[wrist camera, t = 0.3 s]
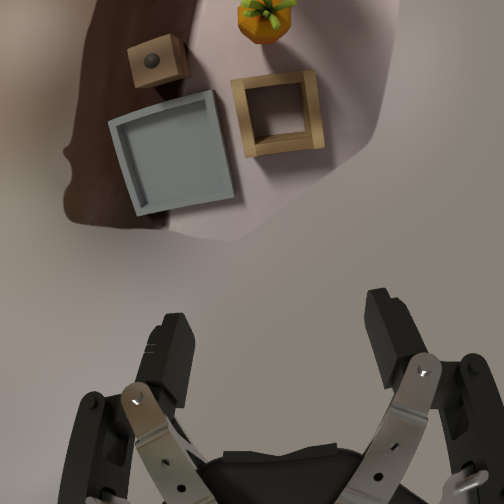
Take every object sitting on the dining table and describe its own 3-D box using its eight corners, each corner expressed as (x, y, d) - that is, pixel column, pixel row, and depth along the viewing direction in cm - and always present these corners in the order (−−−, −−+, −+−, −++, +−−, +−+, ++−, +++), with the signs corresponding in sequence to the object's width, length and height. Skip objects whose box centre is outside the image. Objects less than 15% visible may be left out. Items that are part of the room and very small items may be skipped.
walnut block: (146, 53, 27) (127, 49, 22) (183, 41, 26) (169, 33, 21) (154, 87, 30) (135, 88, 24) (191, 76, 29) (177, 74, 24)
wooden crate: (234, 81, 29) (230, 80, 25) (306, 72, 28) (314, 69, 24) (247, 149, 34) (245, 158, 30) (316, 140, 33) (324, 147, 29)
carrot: (289, 27, 25) (310, -13, 13) (274, 59, 28) (286, 37, 15) (250, 14, 24) (245, -33, 12) (235, 46, 27) (219, 16, 14)
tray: (115, 119, 32) (107, 121, 30) (214, 89, 30) (211, 89, 28) (142, 209, 39) (137, 216, 37) (235, 191, 37) (234, 197, 35)
